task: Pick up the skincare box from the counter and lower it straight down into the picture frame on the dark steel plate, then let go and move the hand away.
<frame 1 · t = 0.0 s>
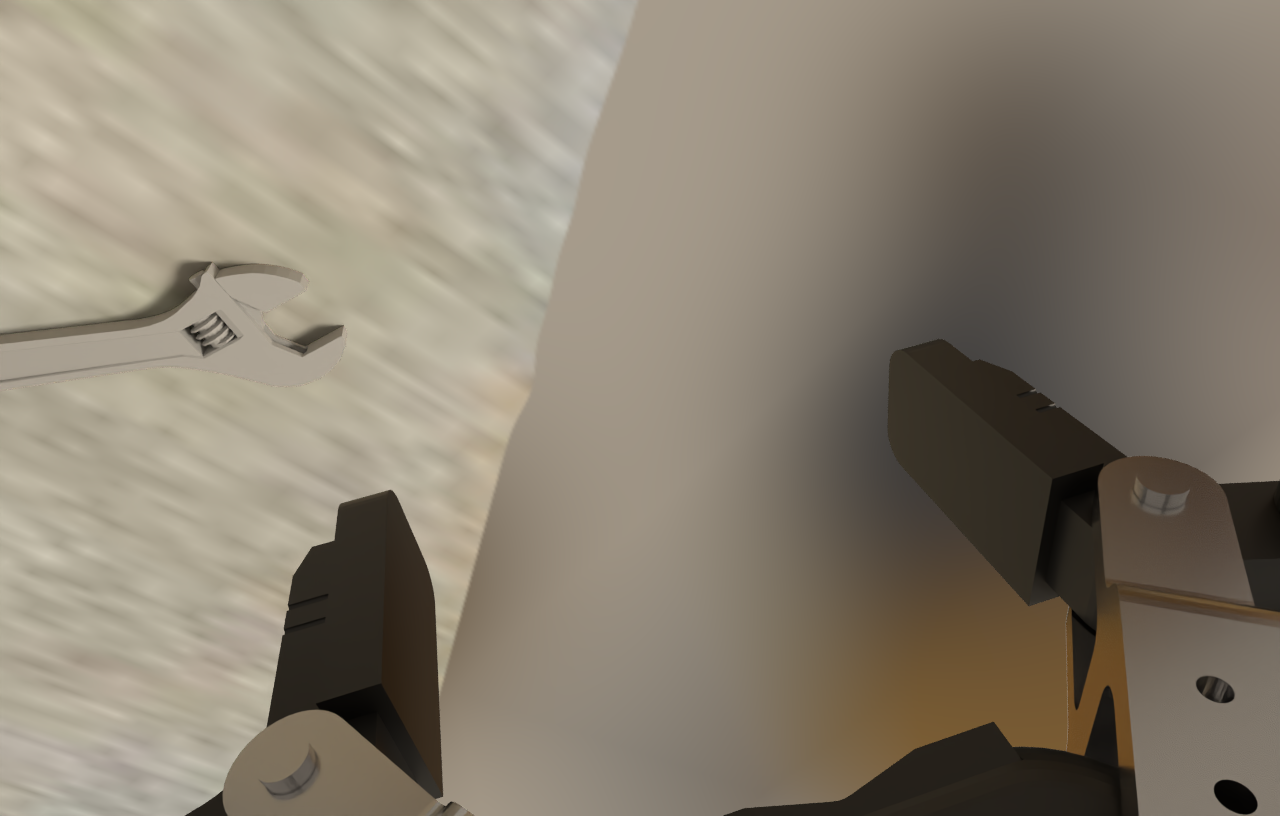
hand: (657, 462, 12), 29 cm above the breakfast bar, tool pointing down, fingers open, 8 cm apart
adjustable wrench: (71, 330, 37), on the breakfast bar
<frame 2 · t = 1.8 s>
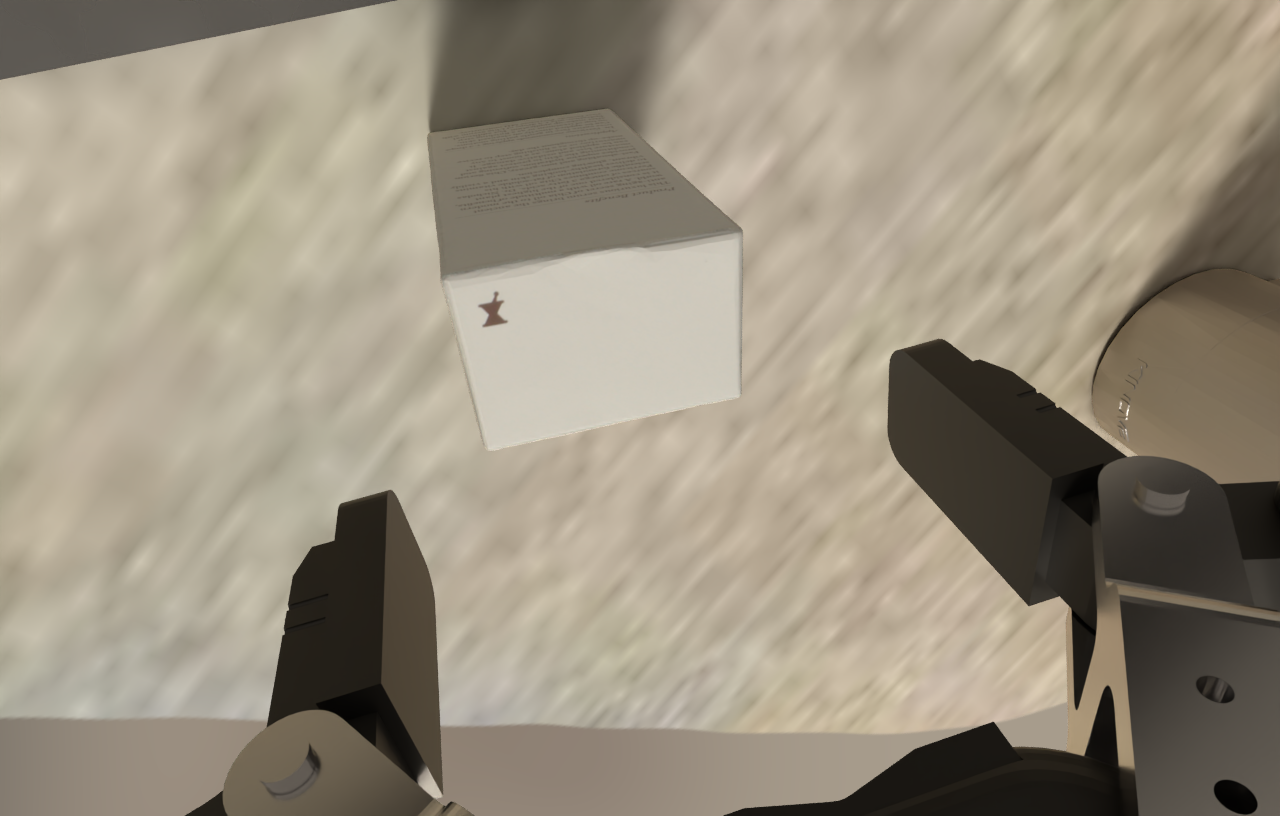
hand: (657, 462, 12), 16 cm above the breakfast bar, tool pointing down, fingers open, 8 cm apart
skincare box: (532, 182, 26), on the breakfast bar
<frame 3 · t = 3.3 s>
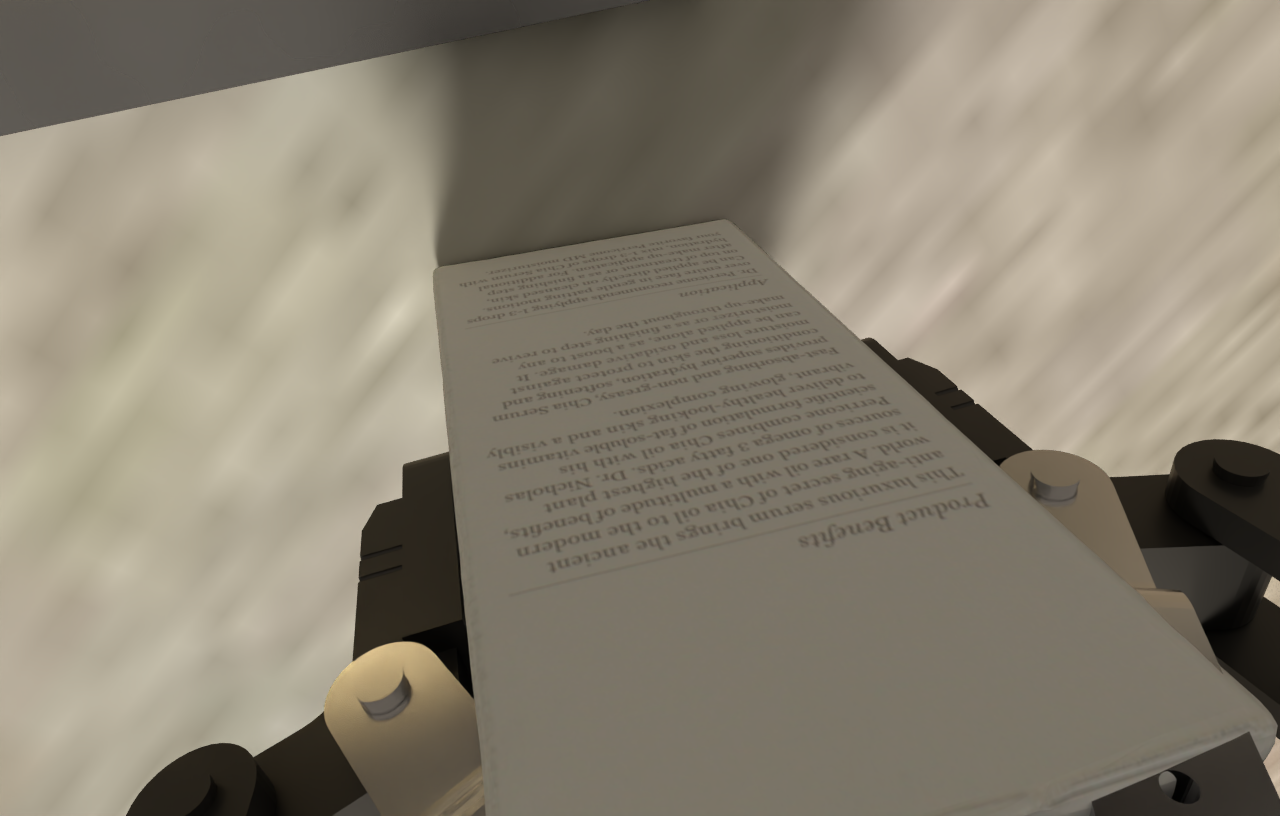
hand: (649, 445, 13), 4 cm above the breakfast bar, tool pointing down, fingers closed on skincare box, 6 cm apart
skincare box: (598, 329, 16), on the breakfast bar, touching gripper
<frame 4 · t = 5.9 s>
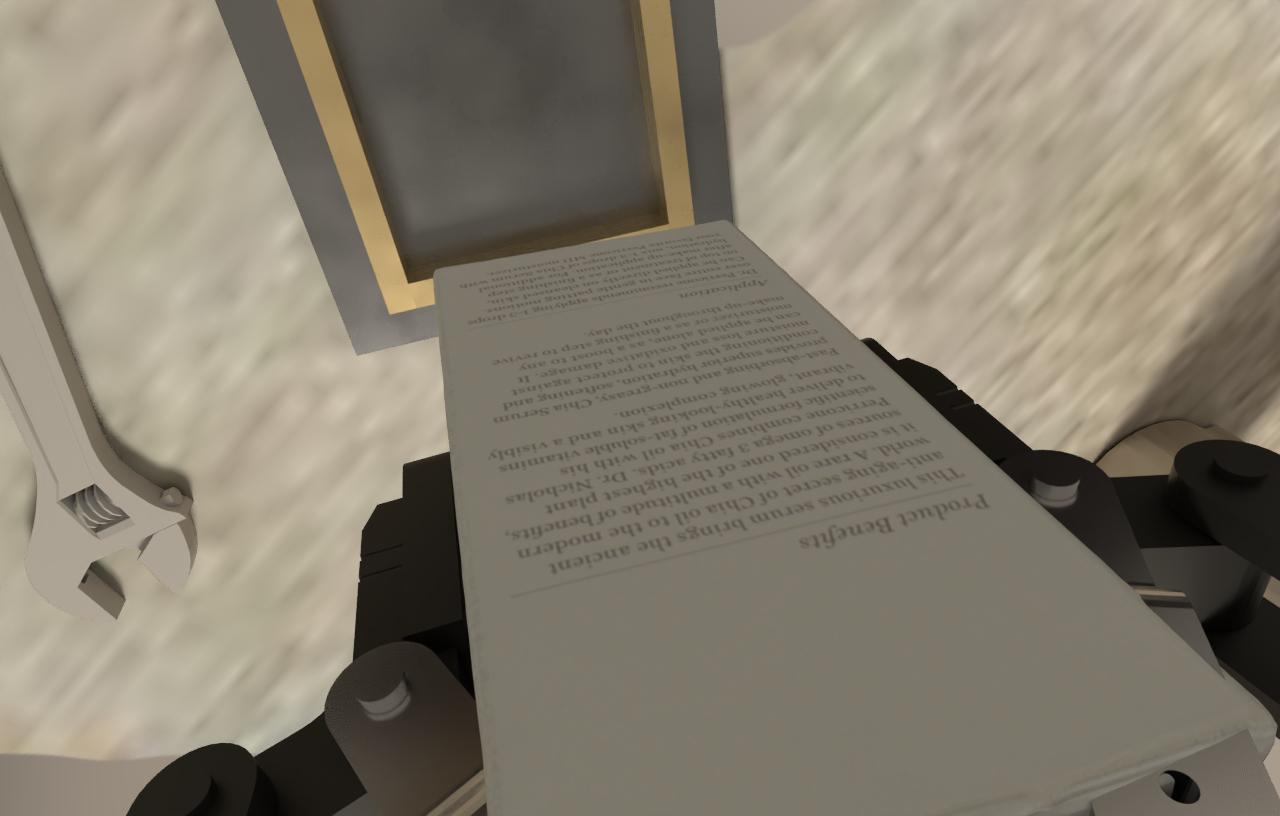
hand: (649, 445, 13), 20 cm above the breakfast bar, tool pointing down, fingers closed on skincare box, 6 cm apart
picture frame: (503, 102, 28), on the breakfast bar
skincare box: (598, 330, 16), point 16 cm above the breakfast bar, touching gripper
adjustable wrench: (66, 350, 30), on the breakfast bar
when the fingers open (7 cm above the breakfast bar, at t = 8.5 s): skincare box drops 2 cm, resting on picture frame.
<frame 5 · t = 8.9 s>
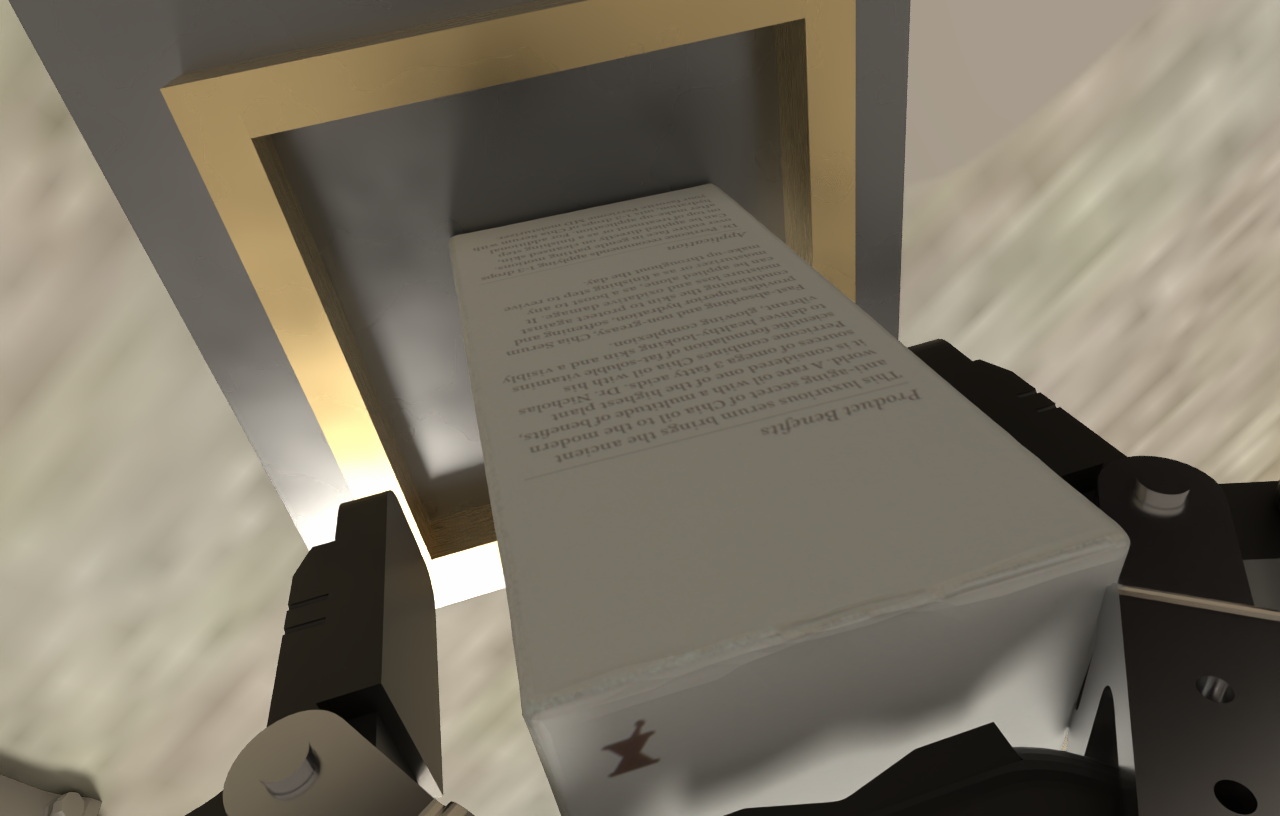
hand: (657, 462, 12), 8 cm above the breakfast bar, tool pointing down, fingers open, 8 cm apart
picture frame: (572, 280, 18), on the breakfast bar
skincare box: (599, 289, 18), point 1 cm above the breakfast bar, touching picture frame
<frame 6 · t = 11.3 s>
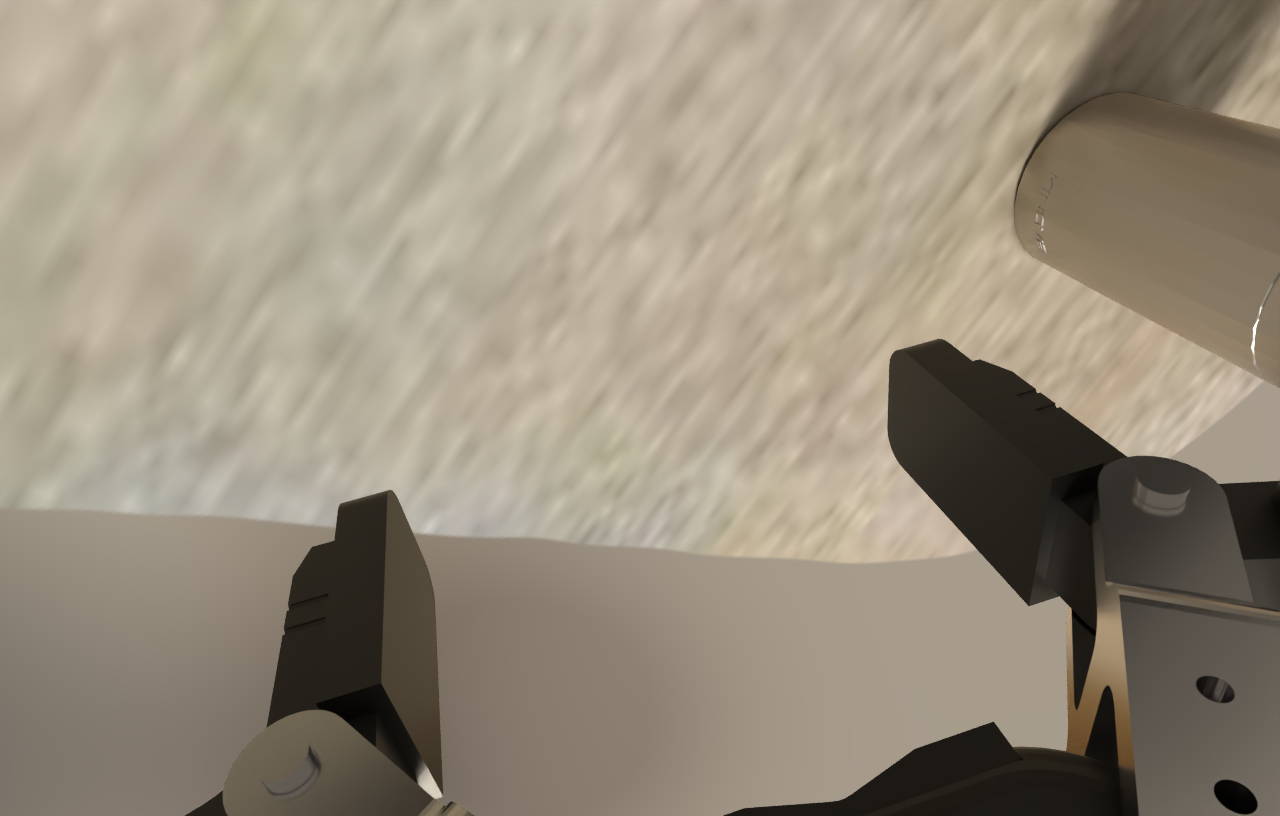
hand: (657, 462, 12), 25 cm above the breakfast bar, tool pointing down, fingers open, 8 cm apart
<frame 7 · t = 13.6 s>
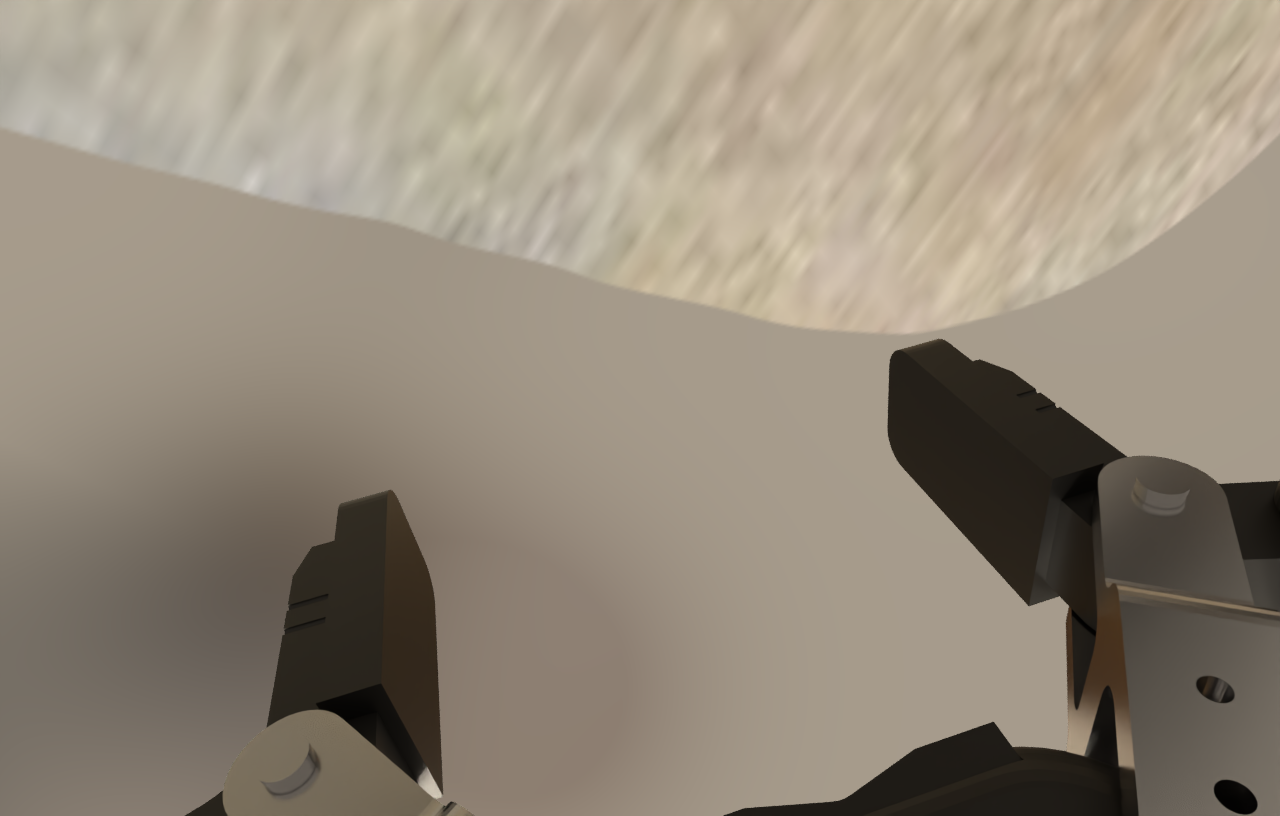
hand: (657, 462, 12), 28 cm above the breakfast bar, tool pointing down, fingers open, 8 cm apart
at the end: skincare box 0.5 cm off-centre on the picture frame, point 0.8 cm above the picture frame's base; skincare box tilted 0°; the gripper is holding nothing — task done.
